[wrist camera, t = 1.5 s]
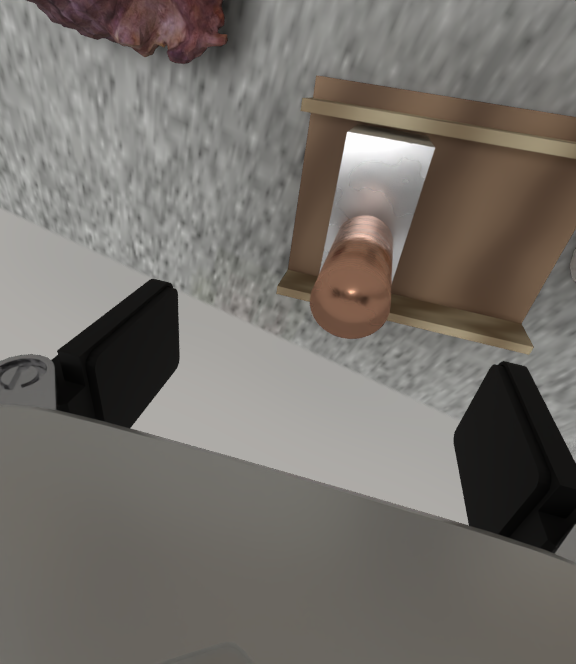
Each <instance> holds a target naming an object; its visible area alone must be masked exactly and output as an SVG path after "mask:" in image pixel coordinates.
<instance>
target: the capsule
mask: <svg viewBox="0 0 576 664" xmlns="http://www.w3.org/2000/svg"><path fill="white" fill-rule="evenodd" d="M570 270H571V275H572V279H573V280H574V281H575V282H576V249H575V250H574V253H573V256H572V259H571V263H570Z"/></svg>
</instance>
